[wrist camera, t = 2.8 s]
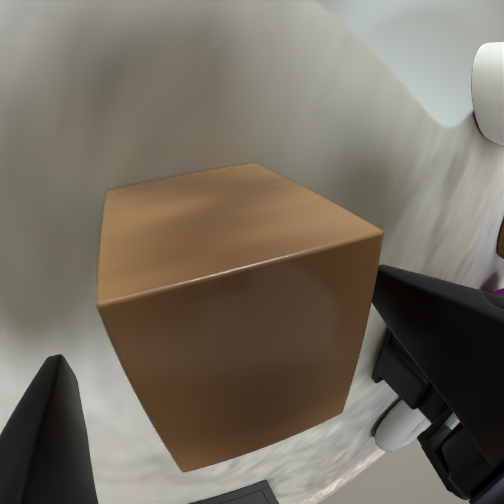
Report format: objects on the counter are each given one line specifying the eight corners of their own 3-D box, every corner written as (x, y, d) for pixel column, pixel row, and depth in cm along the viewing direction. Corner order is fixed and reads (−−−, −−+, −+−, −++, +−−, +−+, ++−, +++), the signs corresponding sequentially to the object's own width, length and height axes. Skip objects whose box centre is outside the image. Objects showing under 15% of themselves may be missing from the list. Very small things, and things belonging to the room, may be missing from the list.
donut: (384, 437, 32) (443, 382, 31) (399, 456, 29) (460, 399, 28) (355, 434, 26) (430, 363, 25) (373, 458, 23) (452, 386, 23)
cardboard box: (256, 162, 10) (385, 230, 6) (262, 305, 13) (343, 413, 8) (105, 190, 9) (94, 305, 4) (145, 337, 12) (182, 474, 7)
